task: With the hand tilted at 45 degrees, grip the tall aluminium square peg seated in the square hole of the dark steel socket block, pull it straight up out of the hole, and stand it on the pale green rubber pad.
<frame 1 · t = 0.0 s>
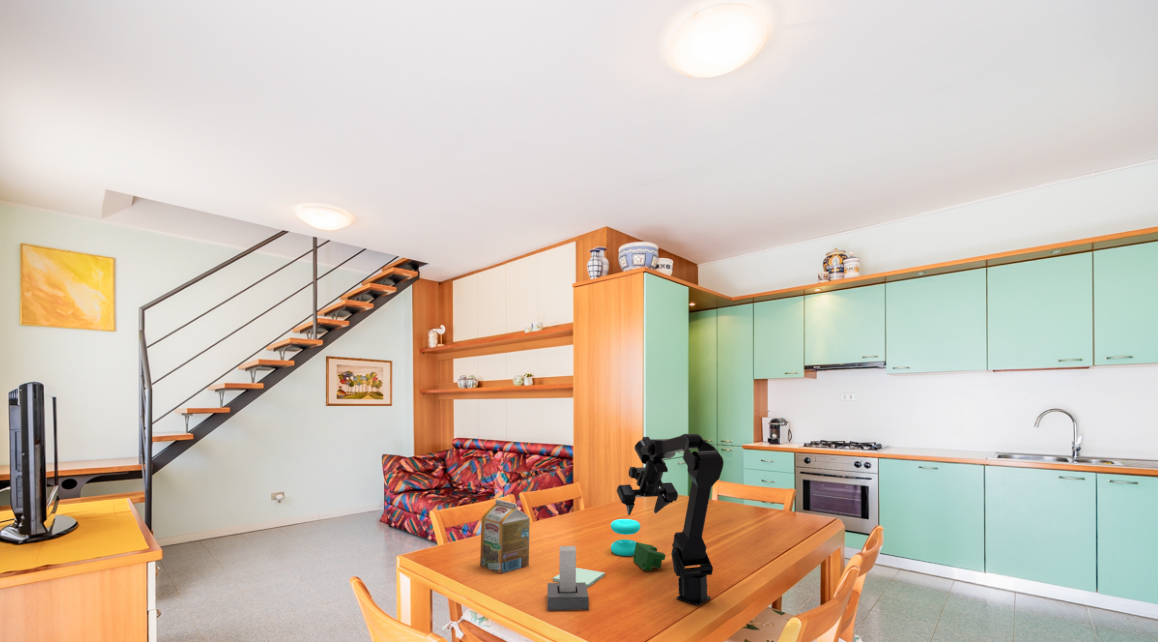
hand: (641, 513, 166), 15 cm above the table, tool tilted 35°, fingers open, 9 cm apart
peg: (567, 575, 133), in the socket block
pad: (579, 578, 150), on the table
milk carton: (504, 566, 161), on the table
clamp: (649, 567, 161), on the table
donuts: (625, 553, 175), on the table
socket block: (567, 602, 133), on the table
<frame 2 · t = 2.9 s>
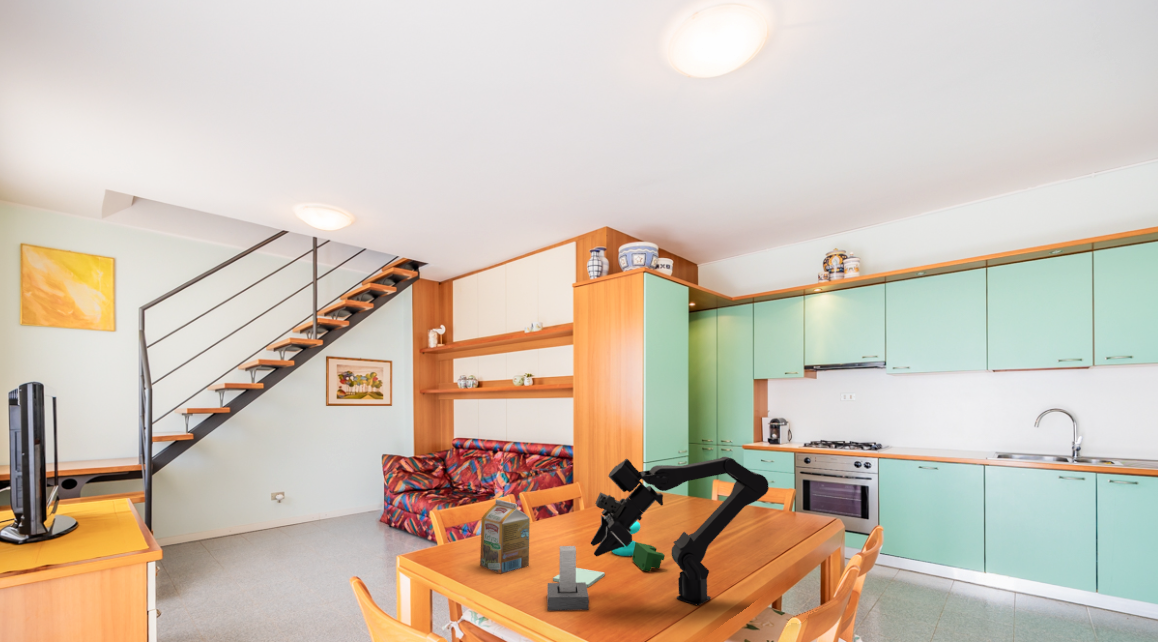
hand: (593, 549, 135), 13 cm above the table, tool tilted 45°, fingers open, 9 cm apart
nothing on the table moved.
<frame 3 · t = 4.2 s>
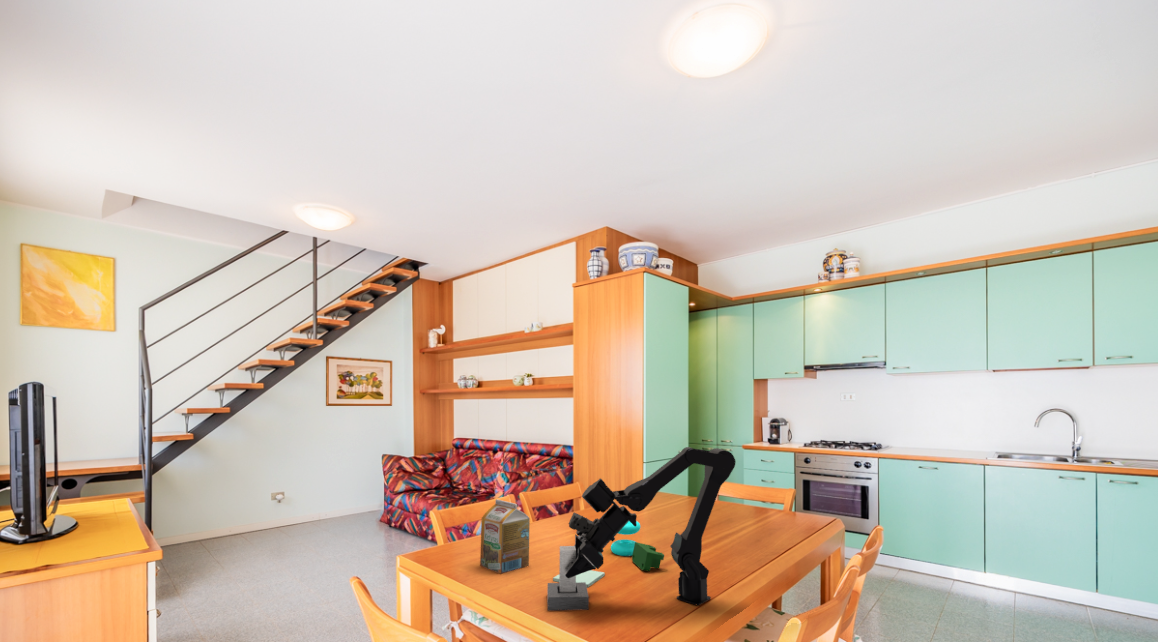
hand: (565, 570, 134), 8 cm above the table, tool tilted 45°, fingers open, 9 cm apart
nothing on the table moved.
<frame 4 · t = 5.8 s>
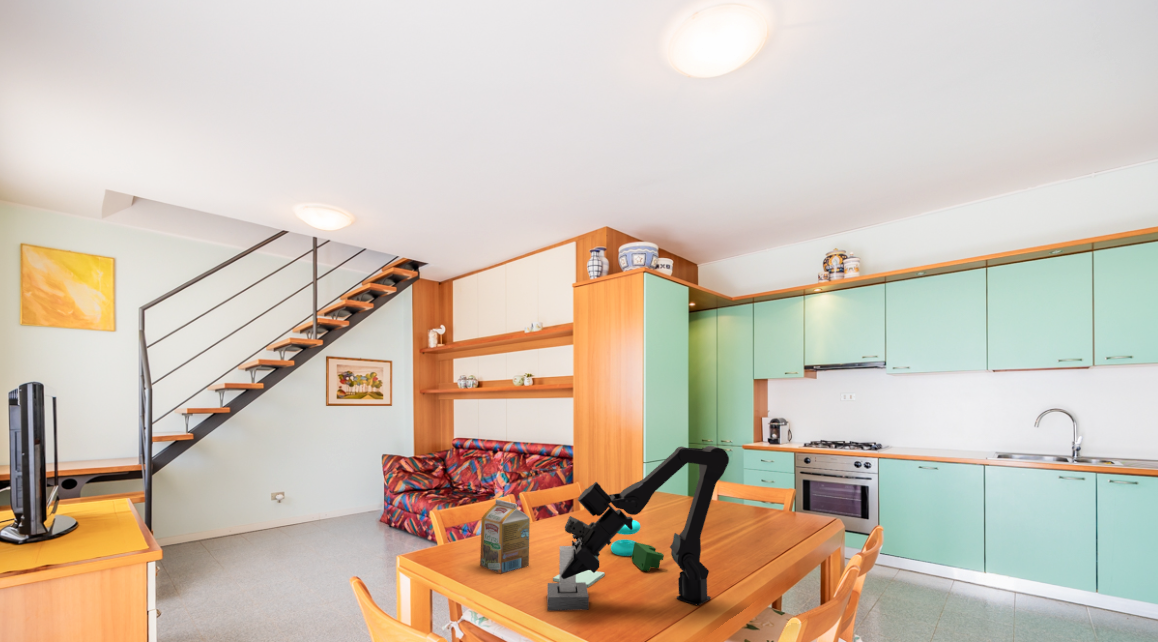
hand: (562, 574, 133), 7 cm above the table, tool tilted 45°, fingers closed on peg, 4 cm apart
peg: (567, 575, 133), in the socket block, touching gripper
everything else where it was.
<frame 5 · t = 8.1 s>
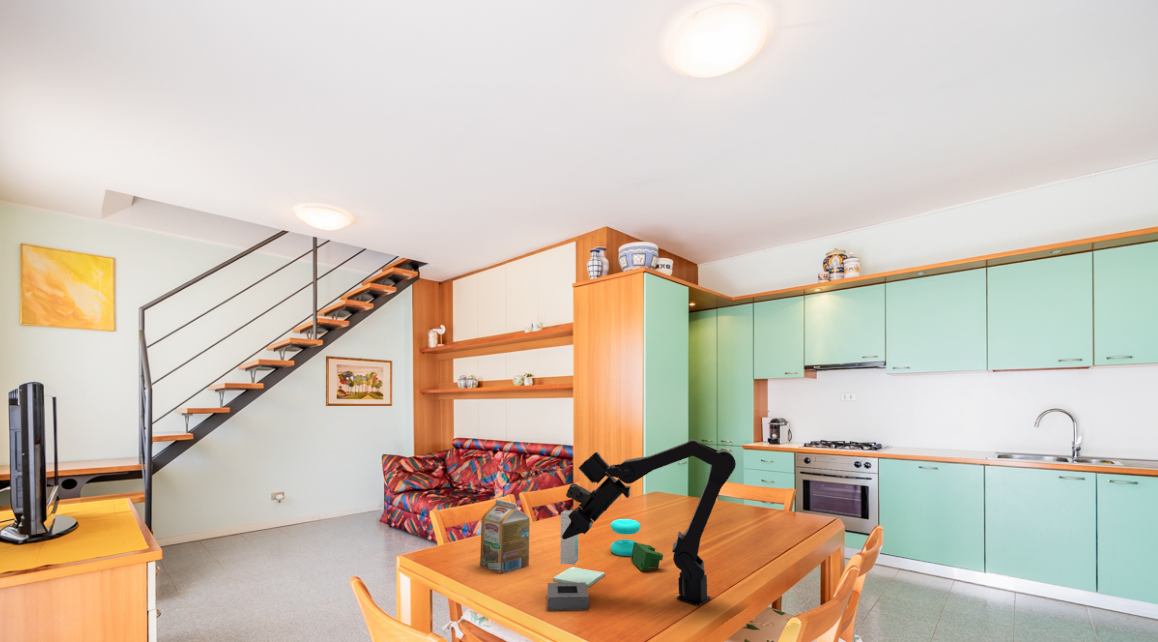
hand: (564, 536, 144), 14 cm above the table, tool tilted 45°, fingers closed on peg, 4 cm apart
peg: (569, 536, 144), point 13 cm above the table, touching gripper
everything else where it was.
when the fingers open (9 cm above the table, at t = 10.4 s): peg drops 1 cm, resting on pad.
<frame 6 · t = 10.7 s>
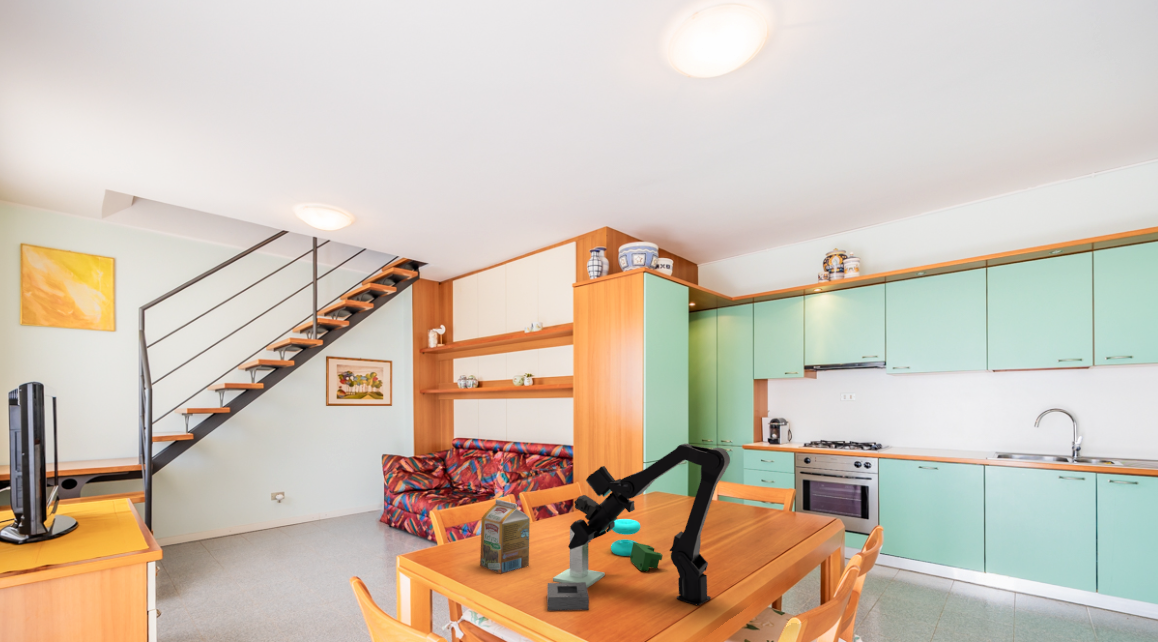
hand: (575, 545, 152), 9 cm above the table, tool tilted 45°, fingers open, 7 cm apart
peg: (579, 551, 151), on the pad, point 7 cm above the table
everything else where it was.
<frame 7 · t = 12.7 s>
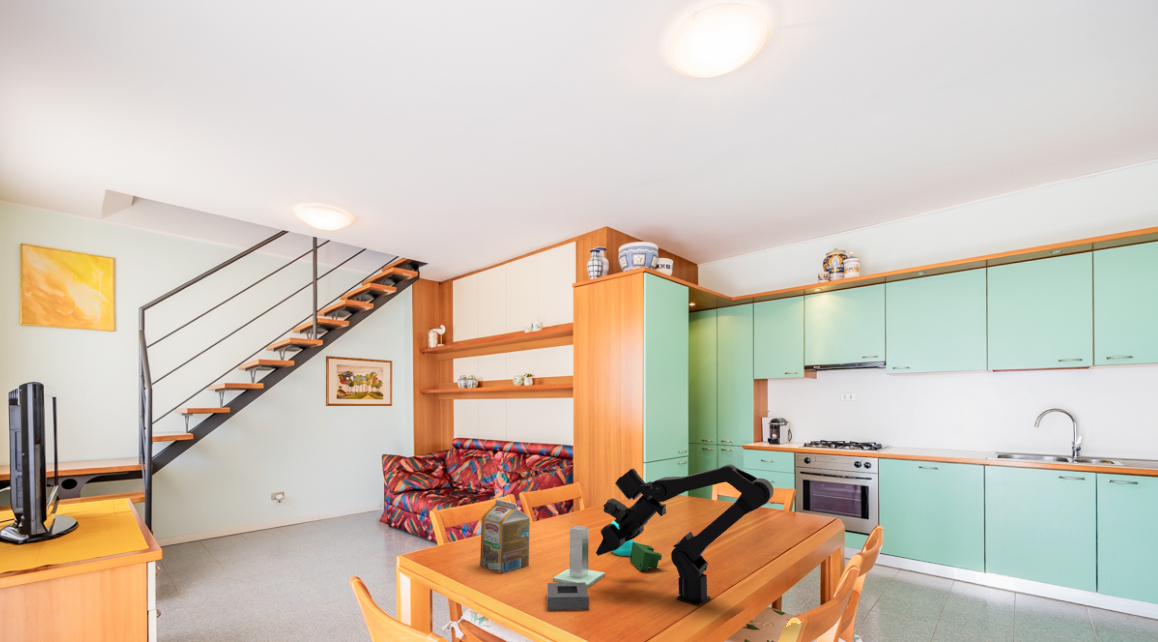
hand: (604, 549, 148), 9 cm above the table, tool tilted 45°, fingers open, 9 cm apart
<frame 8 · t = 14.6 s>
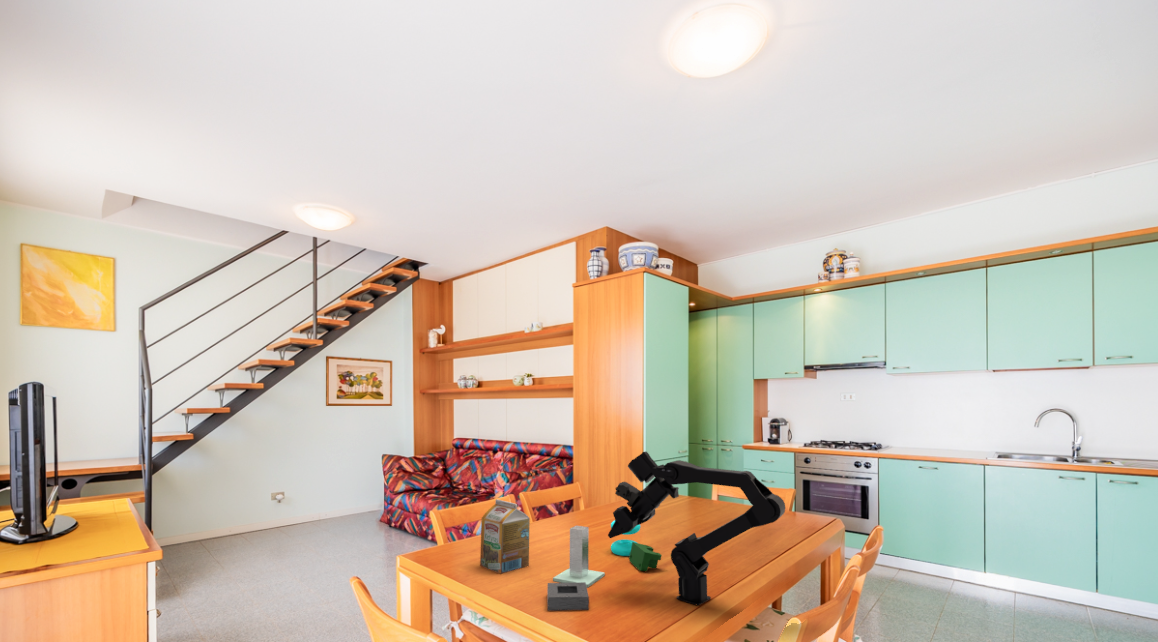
hand: (615, 532, 147), 14 cm above the table, tool tilted 45°, fingers open, 9 cm apart
at the end: peg inside the target area on the pad (0.1 cm from its centre), point 7.3 cm above the pad's base; peg tilted 0°; the gripper is holding nothing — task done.
